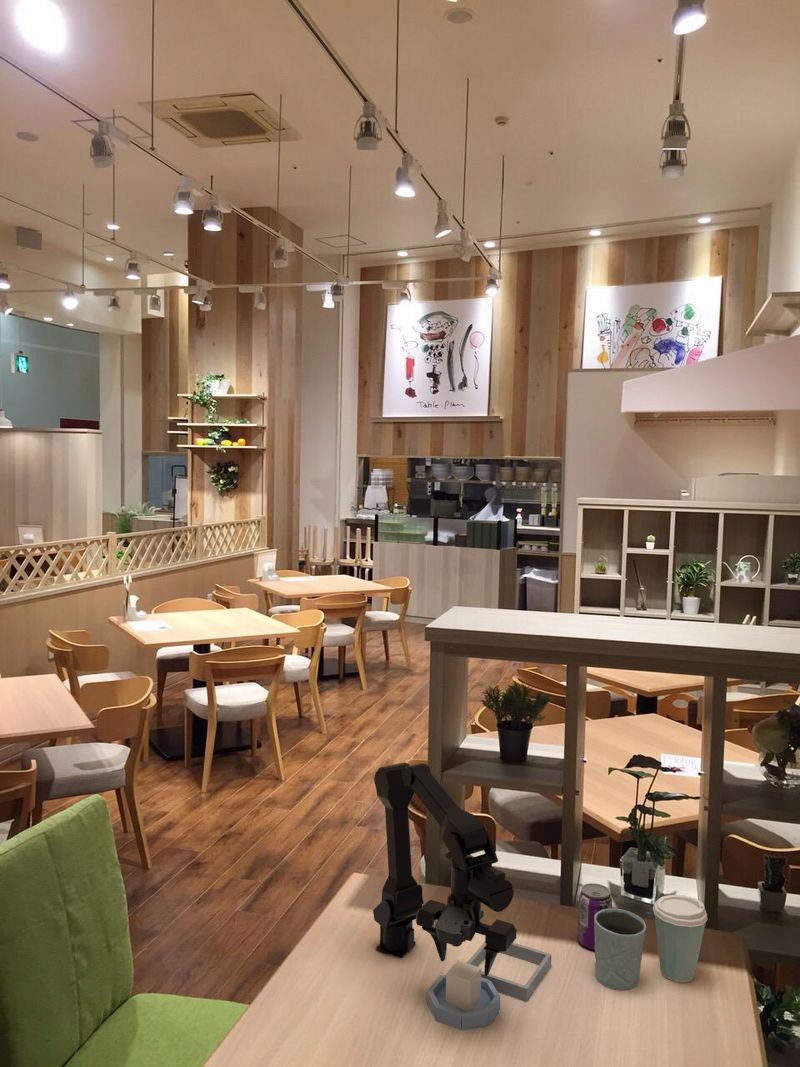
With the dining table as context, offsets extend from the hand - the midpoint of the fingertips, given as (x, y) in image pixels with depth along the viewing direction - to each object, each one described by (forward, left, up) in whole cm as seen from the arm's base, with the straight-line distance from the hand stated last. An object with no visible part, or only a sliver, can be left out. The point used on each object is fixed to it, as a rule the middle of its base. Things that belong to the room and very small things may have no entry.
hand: (464, 967), depth 160 cm
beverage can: (+15, +35, -8) cm, 38 cm away
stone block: (0, 0, -7) cm, 7 cm away
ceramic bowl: (0, 0, -8) cm, 8 cm away
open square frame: (+3, +15, -8) cm, 17 cm away
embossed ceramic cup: (+23, +25, -8) cm, 35 cm away
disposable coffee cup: (+33, +33, -8) cm, 47 cm away
